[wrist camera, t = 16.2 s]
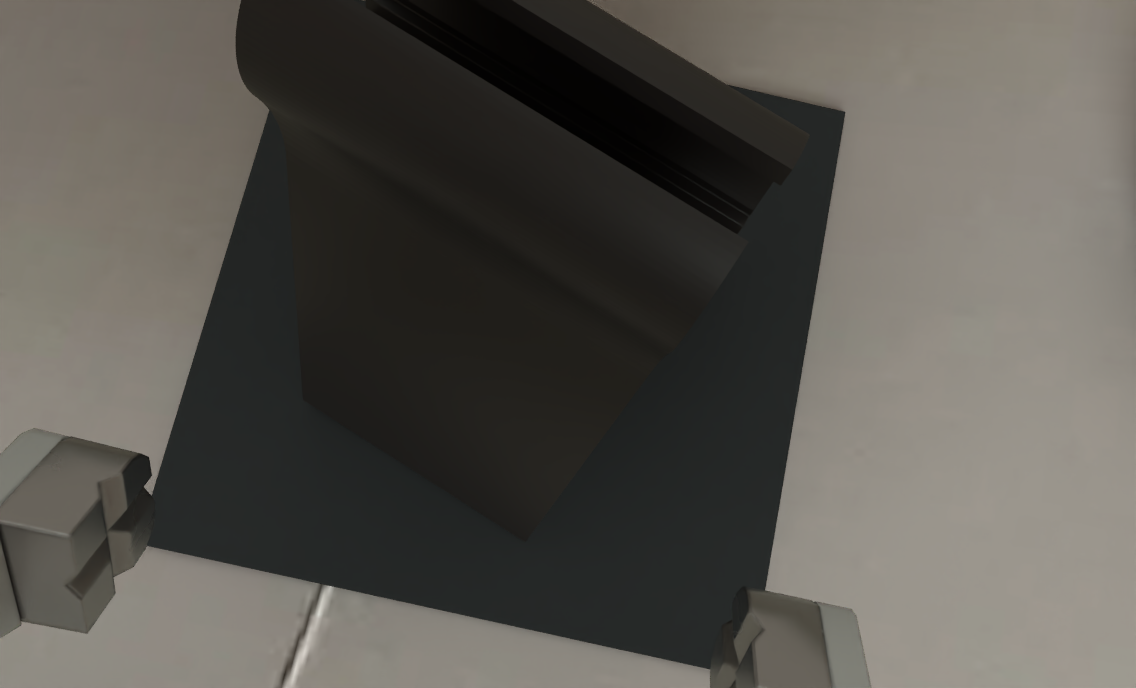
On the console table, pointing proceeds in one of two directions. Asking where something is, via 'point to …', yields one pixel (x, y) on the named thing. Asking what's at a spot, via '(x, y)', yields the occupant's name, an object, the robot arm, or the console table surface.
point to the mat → (588, 503)
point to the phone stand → (498, 223)
